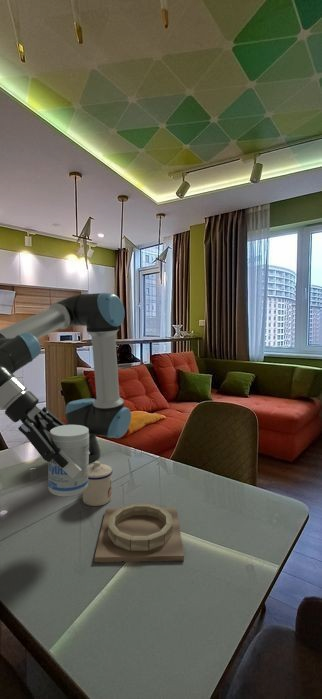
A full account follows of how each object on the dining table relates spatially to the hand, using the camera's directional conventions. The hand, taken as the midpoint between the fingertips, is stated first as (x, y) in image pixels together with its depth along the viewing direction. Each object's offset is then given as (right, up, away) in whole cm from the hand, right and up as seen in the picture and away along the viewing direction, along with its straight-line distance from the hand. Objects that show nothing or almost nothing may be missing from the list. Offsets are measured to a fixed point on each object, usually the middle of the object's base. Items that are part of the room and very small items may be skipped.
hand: (81, 464), depth 82 cm
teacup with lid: (0, -17, +21) cm, 27 cm away
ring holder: (+14, -19, +3) cm, 24 cm away
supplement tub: (-3, -6, 0) cm, 7 cm away
